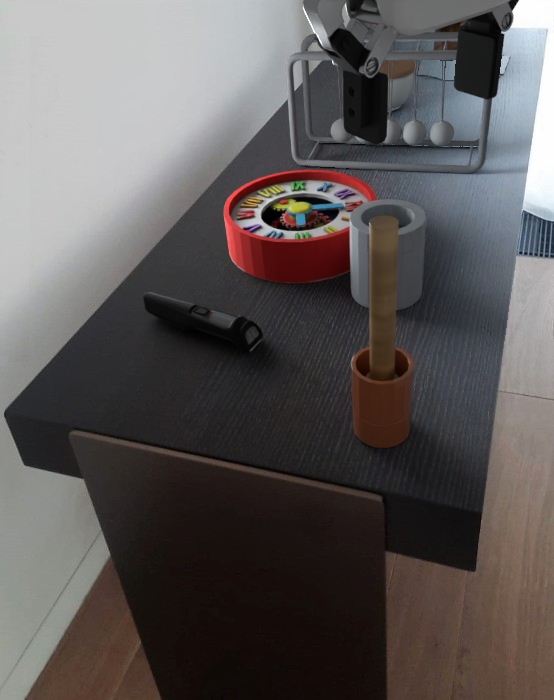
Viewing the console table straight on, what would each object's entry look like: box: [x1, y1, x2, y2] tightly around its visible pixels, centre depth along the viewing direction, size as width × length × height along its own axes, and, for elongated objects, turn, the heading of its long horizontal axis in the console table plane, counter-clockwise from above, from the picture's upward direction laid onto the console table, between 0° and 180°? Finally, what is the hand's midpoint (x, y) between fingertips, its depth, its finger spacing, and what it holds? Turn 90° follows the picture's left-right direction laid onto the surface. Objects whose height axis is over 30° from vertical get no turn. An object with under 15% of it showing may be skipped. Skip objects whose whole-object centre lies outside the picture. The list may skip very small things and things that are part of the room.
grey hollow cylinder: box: [349, 198, 427, 311], centre depth 81 cm, size 8×8×10 cm
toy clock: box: [223, 169, 377, 284], centre depth 93 cm, size 20×6×20 cm
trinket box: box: [379, 60, 415, 109], centre depth 128 cm, size 11×11×9 cm
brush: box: [365, 215, 399, 381], centre depth 59 cm, size 3×3×19 cm
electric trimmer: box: [142, 291, 264, 352], centre depth 81 cm, size 4×16×3 cm, turn 58°
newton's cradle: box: [285, 31, 493, 174], centre depth 108 cm, size 30×10×18 cm, turn 74°
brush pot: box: [350, 345, 415, 449], centre depth 64 cm, size 5×5×8 cm
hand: (422, 114), depth 45 cm, fingers open, 9 cm apart
